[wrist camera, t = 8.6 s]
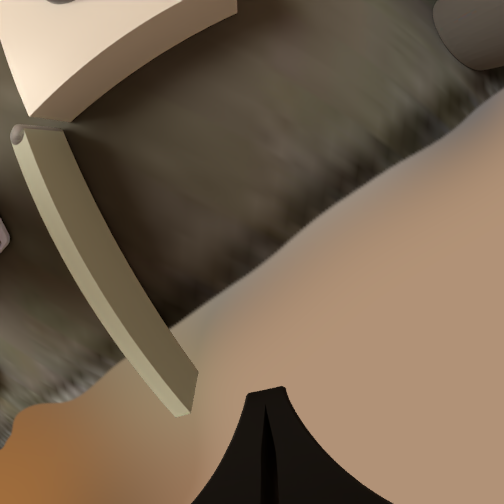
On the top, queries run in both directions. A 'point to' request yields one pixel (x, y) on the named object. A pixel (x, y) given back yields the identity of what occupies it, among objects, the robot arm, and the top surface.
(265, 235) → the top surface
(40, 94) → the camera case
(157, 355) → the cream flat bar
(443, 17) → the bottle
